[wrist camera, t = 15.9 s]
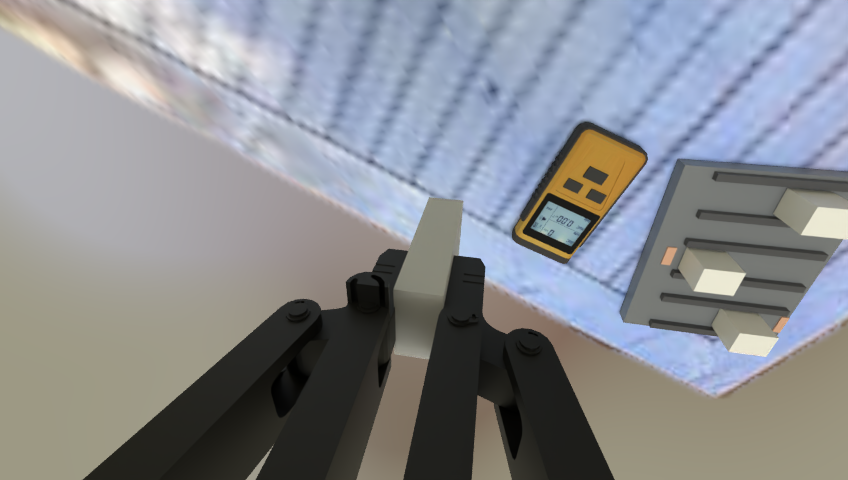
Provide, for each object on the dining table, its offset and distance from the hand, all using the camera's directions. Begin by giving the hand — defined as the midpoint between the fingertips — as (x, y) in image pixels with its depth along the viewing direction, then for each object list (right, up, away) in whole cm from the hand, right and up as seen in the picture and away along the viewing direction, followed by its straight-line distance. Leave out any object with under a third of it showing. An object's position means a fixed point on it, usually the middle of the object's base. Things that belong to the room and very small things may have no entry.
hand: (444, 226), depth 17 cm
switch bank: (+35, -2, +29) cm, 46 cm away
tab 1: (+31, -3, +28) cm, 42 cm away
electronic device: (+17, +5, +29) cm, 34 cm away
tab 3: (+38, +3, +23) cm, 45 cm away
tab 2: (+38, -10, +31) cm, 50 cm away
